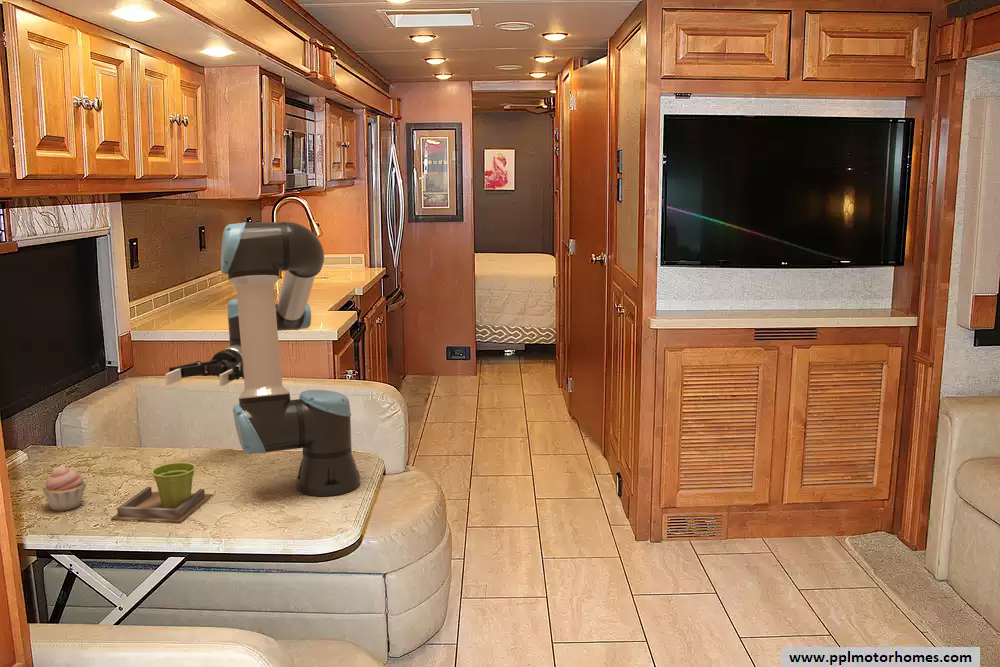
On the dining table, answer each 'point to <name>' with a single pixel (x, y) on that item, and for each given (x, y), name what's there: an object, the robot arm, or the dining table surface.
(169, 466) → the plant pot
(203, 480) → the dining table surface
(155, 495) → the keeper bracket
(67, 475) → the cupcake
